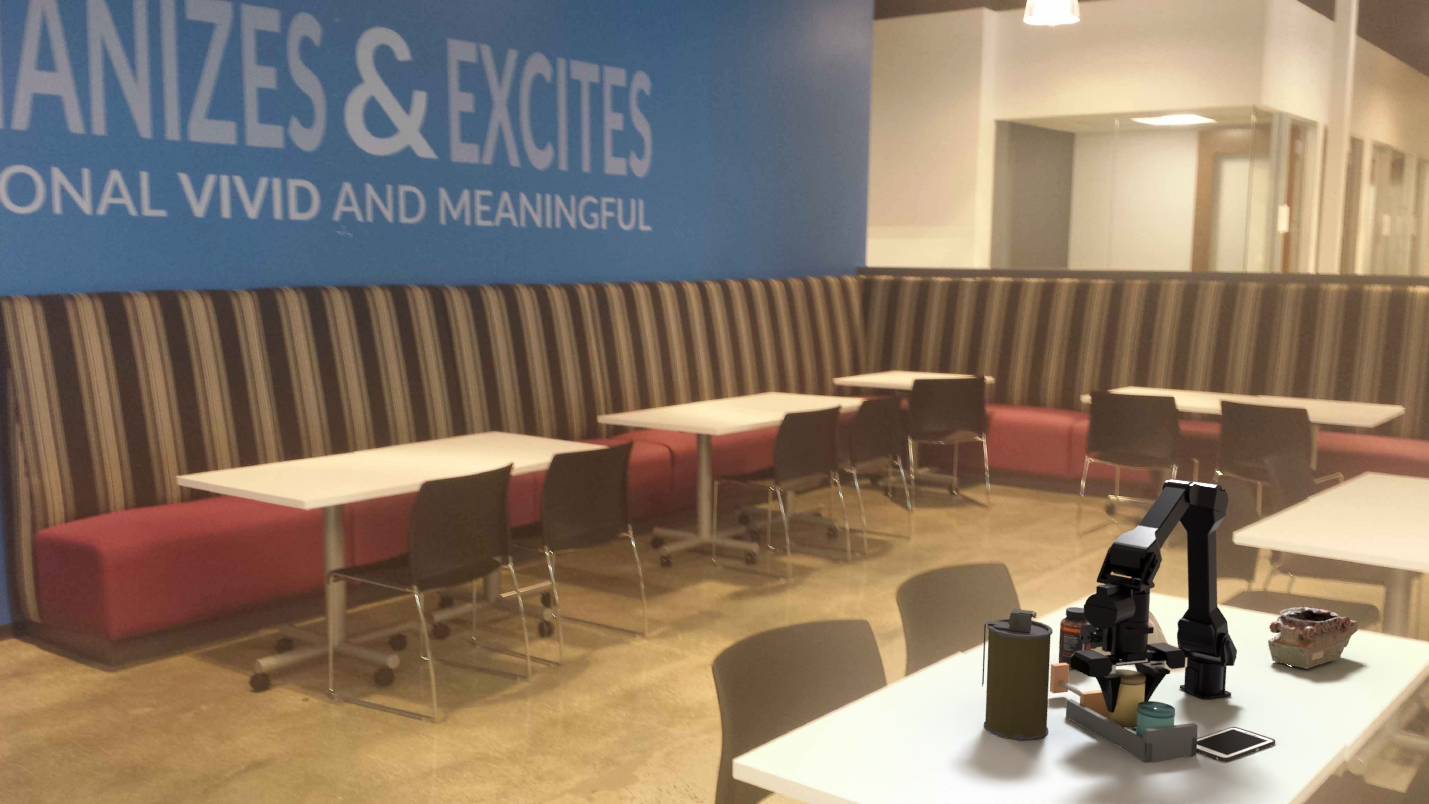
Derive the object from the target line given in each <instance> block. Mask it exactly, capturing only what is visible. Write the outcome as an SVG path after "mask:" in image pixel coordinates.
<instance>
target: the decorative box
mask: <svg viewBox="0 0 1429 804" xmlns="http://www.w3.org/2000/svg"><path fill="white" fill-rule="evenodd" d="M1278 613H1280V616H1278V617H1277V619H1276V620H1275V621H1271V623H1270V624H1269V627H1268V628H1269V631H1270V632H1271V633H1273V634H1277V635H1275V636H1274V637H1272V638H1269V640H1268V641H1267V643H1268V649H1269V651H1270V656H1271V661H1272V662H1274V661H1275V663H1279V662H1280V664H1283V663H1284V665H1286V664H1288V665H1291V666H1295V667H1297V668H1300V669H1307V670H1308V669H1309V668H1313V667H1315V666H1316V665H1317V666H1319V664H1320V665H1323V664H1326V663H1329V662H1333V661H1336V660H1339V659H1340V658H1341V655H1342V654H1343V652H1344V649H1345V648H1347V647H1348V645H1349V643H1350V640H1351V638H1352V636H1353V635H1354V634H1355V633H1357V632H1358V630H1359V628H1358V626H1359V625H1358V621H1357V620H1352V619H1351V618H1350V616H1341V615H1339V614H1338V613H1336V612H1334V611H1330V610H1326V609H1323V608H1316V607H1312V606H1309V607H1308V606H1290V607H1286V608H1284V609H1281V610H1279V611H1278Z"/></svg>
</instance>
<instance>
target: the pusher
mask: <svg viewBox="0 0 1429 804" xmlns="http://www.w3.org/2000/svg"><path fill="white" fill-rule="evenodd" d="M1069 677H1070V669H1069V664H1067V663H1059V662H1058V663H1051V664H1050V675H1049V679H1050V680H1049V692H1050V693H1052V694H1060V693H1062V694H1063V693H1068V692H1069V691H1070V692H1072V693H1074V694H1076V695H1078V696H1079V703H1080V704H1082V705H1083V706H1085V707H1087V708H1089V709H1091V710H1093V711H1094V712H1096V713H1098V714H1100V715H1102V716H1104V717H1105V718H1108V710H1107V706H1106V703H1105V700H1104V697H1103V694H1102V691H1101V689H1100V690H1091V691H1084V690H1081V689H1079V688H1078V687H1077V686H1074V685H1072V684H1070V683H1069Z"/></svg>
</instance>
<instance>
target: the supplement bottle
mask: <svg viewBox="0 0 1429 804" xmlns="http://www.w3.org/2000/svg"><path fill="white" fill-rule="evenodd" d="M1065 616H1066V617H1064V618H1062V619H1061V620H1060V624H1059V639H1058V640H1059V641H1058V645H1059V646H1058V663H1067V664H1069V670H1071V671H1076V670H1075V669H1073V668H1071V667H1070V664H1071V656H1072V654H1073V653H1074V652H1075V651H1083V650H1092V649H1090V644H1083V643H1082V642H1081V638H1080V630H1081V625H1088V624H1090V623H1089V622H1088V621H1087V619H1086V617H1085V614H1084V607H1079V606H1078V607H1077V606H1075V607H1072V606H1071V607H1070V606H1069V607H1067V608H1066V609H1065Z"/></svg>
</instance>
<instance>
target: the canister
mask: <svg viewBox="0 0 1429 804" xmlns="http://www.w3.org/2000/svg"><path fill="white" fill-rule="evenodd" d="M1037 615H1038V612H1036V611H1034V610H1027V609H1021V608H1012V609H1011V612H1010V614H1009V617H1008V618H1000V619H995V620H985V623H984V626H983V627H984V628H983V649H982V650H983V654H982V656H983V657H982V678H981V679H982V680H981V681H982V683H981V687H982V688H983V687H984V683H985V681H984V680H985V659H986V658H985V657H986V655H985V654H986V633H987V631H986V629H988V637H987V638H988V641H987V642H988V643H987V644H988V645H987V664H986V665H987V667H986V668H987V670H986V691H985V692H986V698H985V699H986V700H985V721H984V722H983V727H984V729H985V730H986V731H987V732H989V733H990V734H992V735H994V736H997V737H1000V738H1005V739H1010V740H1015V741H1031V740H1038V739H1041V738H1044V737H1046V736H1047V735H1048V733H1049V728H1048V708H1049V706H1048V704H1049V703H1048V702H1049V700H1048V699H1049V686H1050V680H1049V679H1050V662H1051V661H1050V659H1051V658H1050V657H1051V656H1050V655H1051V636H1052V634H1053V628H1052V627H1051V626H1049V625H1048V624H1046V623H1043V622H1040V621H1036V620H1033V619H1036V618H1037ZM1032 618H1033V619H1032Z"/></svg>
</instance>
